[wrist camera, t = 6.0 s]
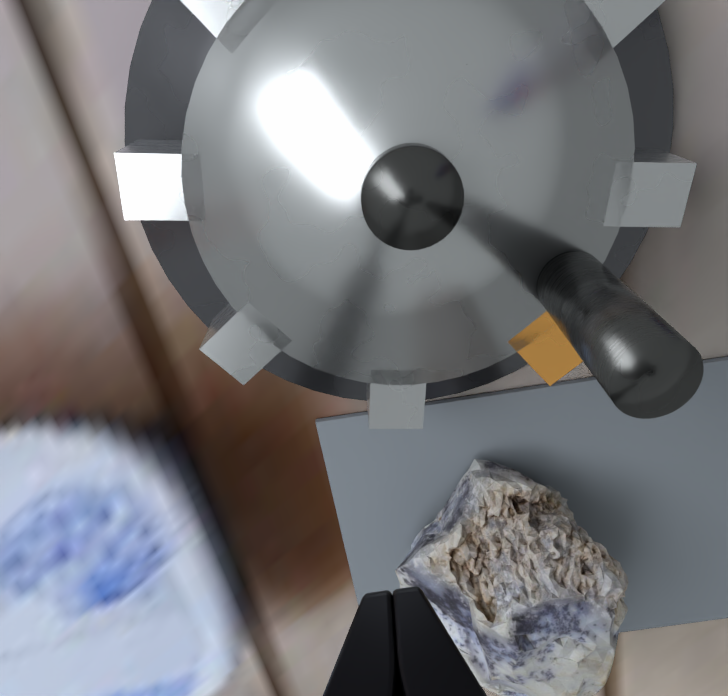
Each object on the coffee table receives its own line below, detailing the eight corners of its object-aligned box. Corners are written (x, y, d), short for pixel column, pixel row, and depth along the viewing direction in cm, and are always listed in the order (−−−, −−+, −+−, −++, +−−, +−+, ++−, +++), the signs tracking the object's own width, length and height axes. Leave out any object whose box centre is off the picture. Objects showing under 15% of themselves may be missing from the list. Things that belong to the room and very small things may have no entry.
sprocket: (670, -212, 14) (957, -421, 7) (653, 351, 20) (799, 502, 14) (52, -72, 14) (-177, -149, 8) (226, 427, 21) (175, 602, 14)
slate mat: (881, 592, 27) (885, 596, 26) (372, 661, 28) (372, 665, 27) (967, 319, 21) (972, 322, 21) (315, 419, 22) (315, 422, 22)
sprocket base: (649, 355, 21) (708, 418, 18) (213, 422, 22) (190, 495, 18) (683, -221, 14) (790, -299, 11) (44, -99, 15) (-44, -135, 11)
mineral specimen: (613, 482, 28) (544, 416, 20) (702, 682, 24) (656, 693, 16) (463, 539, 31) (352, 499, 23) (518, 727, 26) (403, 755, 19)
